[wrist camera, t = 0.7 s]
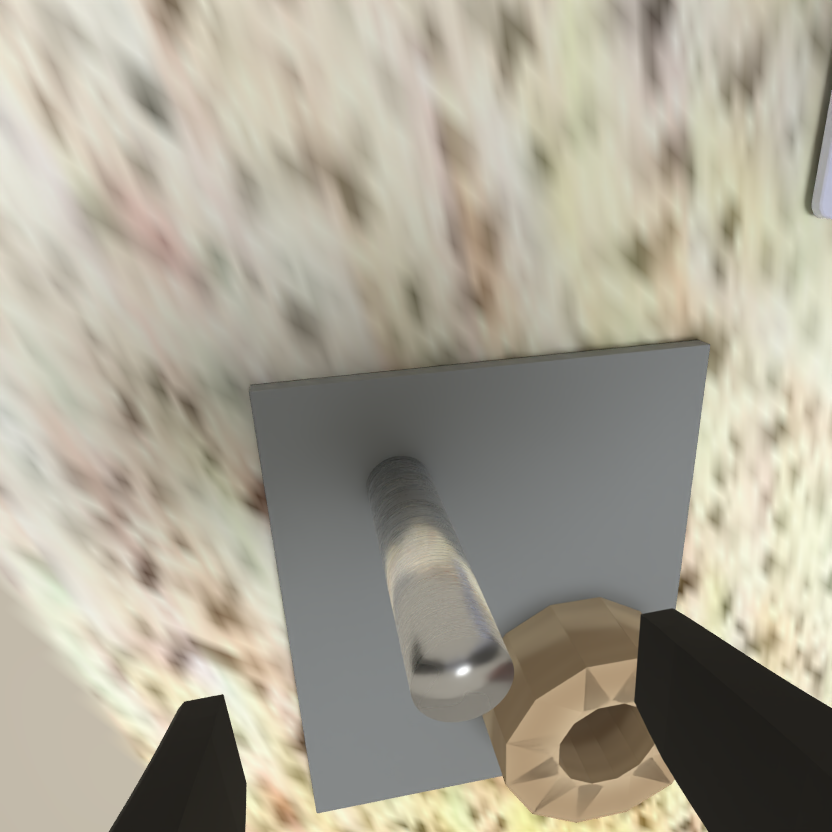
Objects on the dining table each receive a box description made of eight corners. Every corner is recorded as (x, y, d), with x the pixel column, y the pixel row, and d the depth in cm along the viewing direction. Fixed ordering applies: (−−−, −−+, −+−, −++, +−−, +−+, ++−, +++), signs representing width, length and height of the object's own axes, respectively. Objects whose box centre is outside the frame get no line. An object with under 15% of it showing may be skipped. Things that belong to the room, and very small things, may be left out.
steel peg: (429, 452, 18) (514, 630, 11) (432, 509, 19) (513, 712, 12) (364, 460, 18) (407, 648, 11) (369, 517, 19) (413, 730, 12)
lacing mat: (698, 340, 19) (710, 344, 19) (650, 732, 26) (657, 743, 25) (250, 385, 17) (249, 391, 17) (316, 798, 24) (316, 813, 23)
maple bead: (666, 585, 22) (718, 643, 19) (648, 728, 25) (692, 797, 22) (479, 616, 21) (506, 681, 18) (481, 761, 24) (505, 838, 21)
